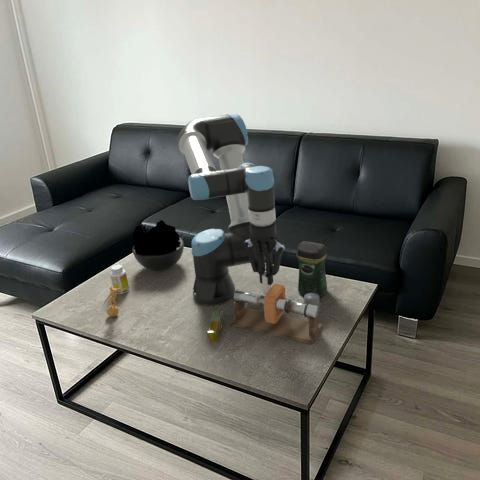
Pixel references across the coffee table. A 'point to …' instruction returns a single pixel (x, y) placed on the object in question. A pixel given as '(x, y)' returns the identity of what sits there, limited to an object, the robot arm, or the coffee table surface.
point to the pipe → (277, 304)
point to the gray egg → (312, 299)
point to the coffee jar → (312, 268)
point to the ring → (273, 303)
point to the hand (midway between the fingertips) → (267, 292)
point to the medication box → (215, 326)
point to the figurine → (112, 309)
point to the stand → (276, 324)
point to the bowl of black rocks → (158, 247)
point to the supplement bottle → (119, 279)
